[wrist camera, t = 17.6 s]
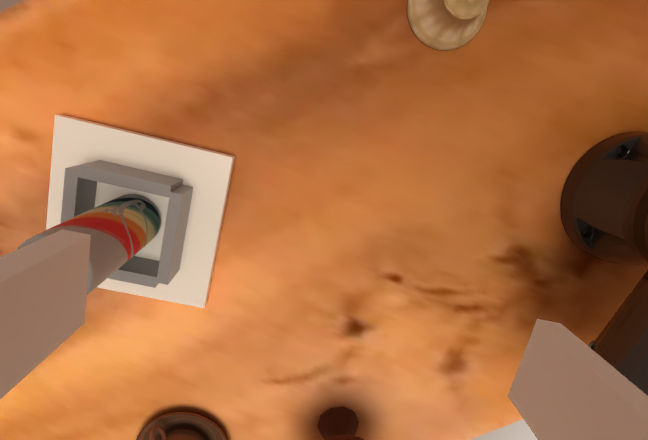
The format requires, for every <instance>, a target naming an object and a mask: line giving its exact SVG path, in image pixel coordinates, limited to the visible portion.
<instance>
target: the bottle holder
mask: <svg viewBox="0 0 648 440" xmlns="http://www.w3.org/2000/svg"><path fill="white" fill-rule="evenodd" d="M234 160H235V156H233V155H229V154H225V153H221V152H217V151H213V150H208V149H204V148H200V147H196V146H192V145H188V144H183V143H179V142H175V141H171V140H167V139H163V138H159V137H154V136H150V135H146V134H142V133H138V132H134V131H129V130H125V129H121V128H117V127H113V126H109V125H104V124H100V123H96V122H92V121H88V120H84V119H79V118H75V117H71V116H67V115H55V122H54V135H53V148H52V161H51V173H50V186H49V199H48V212H47V224H46V230H47V229H50V228H52V227H54V226H56V225H58V224H60V223H63V222H65V221H67V220H69V219H71V218H73V217H76V216H78V215H80V214H82V213H84V212H86V211H89V210H91V209H93V208H95V207H97V206H99V205H102V204H104V203H106V202H108V201H110V200H113V199H115V198H117V197H120V196H123V195H127V194H136V195H140V196H143V197H145V198H147V199H149V200H150V201H151V202H152V203H153V204H154V205H155V206H156V207H157V209H158V211H159V213H160V217H161V226H160V229H159V232H158V233H157V235H156V236H155V237H154V238H153V239H152V240H151V241H150V242H149V243H148V244H147V245H146V246H145V247H143V248H142V249H141V250H140V251H139V252H137V253H136V254H135V255H134V256H133V257H132V258H130V259H129V260H128V261H127V262H126V263H125V264H123V265H122V266H121V267H120V268H119V269H118V270H116V271H115V272H114V273H113V274H112V275H110V276H109V277H108V278H107V279H106V280H105V281H103V282H102V283H101V284H100V285H99V286H98V288H103V289H108V290H113V291H118V292H124V293H129V294H134V295H139V296H144V297H149V298H154V299H159V300H165V301H170V302H175V303H180V304H185V305H190V306H195V307H200V308H205V306H206V303H207V300H208V295H209V290H210V285H211V279H212V274H213V269H214V264H215V259H216V253H217V248H218V243H219V238H220V233H221V228H222V222H223V217H224V212H225V207H226V202H227V196H228V191H229V186H230V181H231V176H232V171H233V165H234Z"/></svg>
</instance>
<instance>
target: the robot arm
mask: <svg viewBox="0 0 648 440" xmlns="http://www.w3.org/2000/svg"><path fill="white" fill-rule="evenodd" d="M561 216H562V221H563V225H564V228H565V230H566V232H567V234H568V236H569V237H570V239H571V240H572V241H573V242H574V243H575V244H576V245H577V246H578V247H579V248H580V249H582V250H583V251H585V252H587V253H589V254H591V255H593V256H595V257H597V258H599V259H602V260H605V261H608V262H612V263H619V264H630V265H642V266H648V133H644V132H631V133H624V134H620V135H617V136H614V137H611V138H609V139H607V140H605V141H603V142H601V143H599V144H598V145H596V146H595V147H594V148H592V149H591V150H590V151H589V152H588V153H586V154H585V155H584V156H583V157H582V159H581V160H580V161H579V162H578V163H577V164H576V166H575V167H574V169H573V170H572V172H571V174H570V176H569V177H568V180H567V182H566V184H565V187H564V190H563V194H562V200H561ZM90 239H91V235H89V234H84V233H79V232H73V231H68V230H63V229H62V230H60V231H58V232H55V233H53V234H51V235H49V236H47V237H44V238H42V239H40V240H38V241H35V242H33V243H31V244H29V245H26V246H24V247H22V248H20V249H18V250H15V251H13V252H11V253H9V254H6V255H4V256H2V257H0V399H1V398H2V397H3V396H4V395H6V394H7V393H8V392H9V391H10V390H11V389H12V388H13V387H14V386H16V385H17V384H18V383H19V382H20V381H21V380H22V379H23V378H24V377H26V376H27V375H28V374H29V373H30V372H31V371H32V370H33V369H34V368H35V367H37V366H38V365H39V364H40V363H41V362H42V361H43V360H44V359H45V358H47V357H48V356H49V355H50V354H51V353H52V352H53V351H54V350H55V349H57V348H58V347H59V346H60V345H61V344H62V343H63V342H64V341H65V340H67V339H68V338H69V337H70V336H71V335H72V334H73V333H74V332H75V331H77V330H78V329H79V328H80V327H81V326H82V325H83V324H84V322H85V308H86V294H87V281H88V267H89V253H90ZM508 397H509V398H510V400H511V401H512V403H513V404H514V406H515V407H516V408H517V410H518V411H519V413H520V414H521V416H522V417H523V419H524V420H525V421H526V422H527V424H528V426H529V427H530V429H531V430H532V432H533V433H534V434H535V436H536V437H537V439H538V440H648V271H647V272H646V274H645V275H644V276H643V277H642V279H641V280H640V281H639V283H638V284H637V285H636V286H635V288H634V289H633V290H632V292H631V293H630V294H629V296H628V297H627V298H626V300H625V301H624V302H623V304H622V305H621V306H620V308H619V309H618V310H617V312H616V313H615V314H614V316H613V317H612V318H611V320H610V321H609V322H608V324H607V325H606V326H605V328H604V329H603V330H602V332H601V333H600V334H599V336H598V337H597V338H596V340H595V341H592V342H591V343H590V344H589V346H587V345H586V344H585V343H584V342H583V341H581V340H580V339H579V338H578V337H577V336H575V335H574V334H573V333H572V332H571V331H570V330H568V329H567V328H566V327H565V326H564V325H562V324H561V323H557V322H552V321H546V320H541V319H537V320H536V323H535V325H534V328H533V331H532V333H531V336H530V339H529V341H528V344H527V347H526V349H525V352H524V355H523V357H522V360H521V363H520V365H519V368H518V370H517V373H516V376H515V378H514V381H513V384H512V386H511V389H510V392H509V394H508Z"/></svg>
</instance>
